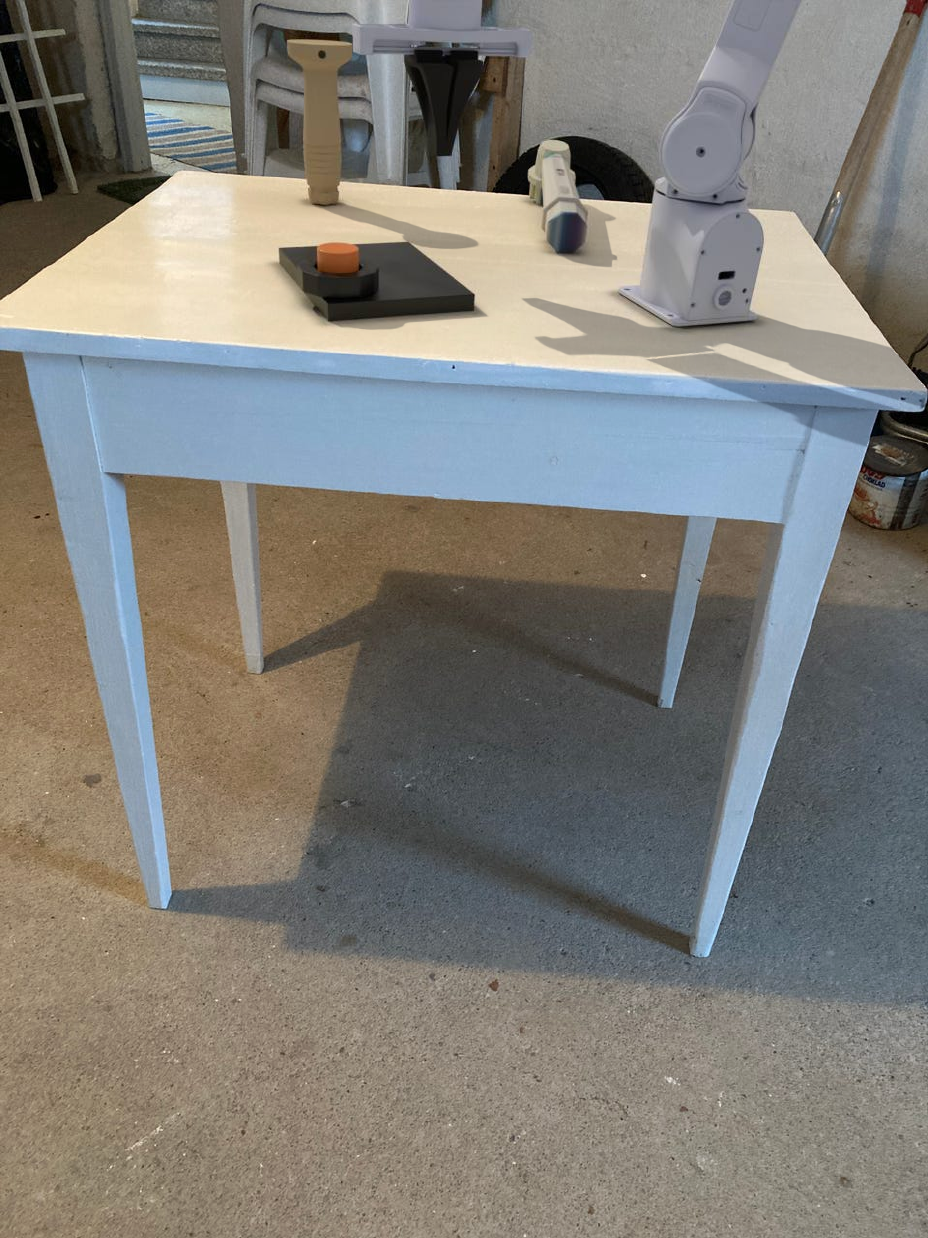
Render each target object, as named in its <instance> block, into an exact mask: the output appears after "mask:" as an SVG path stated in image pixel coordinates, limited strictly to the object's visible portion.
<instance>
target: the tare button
mask: <svg viewBox="0 0 928 1238" xmlns="http://www.w3.org/2000/svg"><path fill="white" fill-rule="evenodd" d="M352 244H353V243H348V242H339V241H336V242H325V243H322V244H318V245H317V246H318V247H317V264H318V270H320V271H323V272H328V273H353V272H356V271H359V248H358V247H357V246H355V245H352Z"/></svg>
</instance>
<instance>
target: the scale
mask: <svg viewBox="0 0 928 1238" xmlns="http://www.w3.org/2000/svg"><path fill="white" fill-rule="evenodd" d="M351 244H352V245H355V246H357V247H358V248H359V271H356V272H353V273H328V272H323V271H320V270H318V264H317V247H318V246H319V245H309V246H308V245H307V246H288V247H287V246H284V247H278V261H279V262H278V263H279V265H280V266H281V267H282V268H283V269H284V271H285V272H286V273H287V274H288V275H289V277H290V278H291V279H292V280H293V282H294V283H295V284H296V285H297V286H298V287H299V289H300V290H301V291H302V292H303V294H304V295H305V296H306V297H307V298H308V299H309V301H310V302H311V304H313V305H314V307H315V309H317V310H318V311H319V313H320V314H321V315H322V316H323V317H324V319H325V320H326V321H327V322H340V321H341V322H343V321H355V320H356V321H357V320H368V319H369V320H371V319H382V318H396V317H410V316H423V315H435V314H437V315H438V314H449V313H465V312H474V311H475V301H476V300H475V299H476V294H475V293H474V292H473V291H471V290H470V289H469V288H468V287H466V286H465V285H464V284H463V283H461V282H460V281H459V280H457V279H456V278H455V277H454V276H453V275H451V274H450V273H448V272H447V271H446V270H445V269H444V268H442V267H441V266H440V265H439V264H437V263H436V262H435V261H433V260H432V259H431V258H430V257H429V256H428V255H426V254H425V253H424V252H422V251H421V250H420V249H418V248H417V247H416V246H415V245H413V244H412V243H411V242H409V241H393V242H391V241H390V242H370V243H351Z"/></svg>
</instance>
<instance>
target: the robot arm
mask: <svg viewBox="0 0 928 1238" xmlns="http://www.w3.org/2000/svg"><path fill="white" fill-rule="evenodd" d="M802 2H803V0H732V1H731V4H730V6H729V9H728V10H727V11H728V12H727V14H726V17H725V19H724V21H723V24H722V26H721V29H720V31H719V34H718V37H717V38H716V42H715V45H714V47H713V49H712V51H711V53H710V55H709V57H708V60H706V63H705V65H704V67H703V69H702V71H701V72H700V75H699V77H698V78H697V79H698V80H697V82H696V84H695V87H694V88H693V89H694V90H693V92H692V94H691V96H690V98H689V100H688V101H687V103H686V105H685V106H684V107H683V108H682V109H681V110H680V111H679V112H678V113H677V114H675V116H673V118H672V119H671V120H670V121H669V122H668V124H667V125H666V126H665V129H664V130H663V133H662V135H661V137H660V138H661V139H660V142H659V146H658V162H659V166H660V170H661V172H662V175H663V176H662V177H659V178H656V180H655V183H654V189H653V193H652V194H653V195H652V200H651V201H652V202H651V208H650V215H649V221H648V227H647V234H646V240H645V246H644V254H643V261H642V265H641V273H640V280H639V284H635V285H621V286H618V289H617V292H618V293H619V295H622V296H623V297H625V298H626V299H629V300H630V301H632V302H633V303H635V304H637V305H638V306H640V307H642V308H643V309H645V310H646V311H648V312H650V313H651V314H653V315H655V317H658V318H659V319H660V320H663V321H664V322H666V323H668V324H669V325H671V326H673V327H690V326H700V325H701V326H702V325H712V324H724V323H735V322H736V323H737V322H748V321H755V320H757V318H758V317H757V316H758V314H757V313H756V312H754V311H753V310H751V305H752V300H753V296H754V291H755V286H756V282H757V277H758V273H759V268H760V263H761V259H762V255H763V250H764V244H765V236H764V235H765V234H764V229H763V226H762V223H761V222H760V220H759V218H757V216H755V215H754V214H753V213H752V212H750V210H749V208H748V206H747V205H748V203H747V195H748V189H749V187H748V185H747V184H745V182H744V180H743V178H742V175H741V173H740V171H741V170H742V166H743V164H744V162H745V161H746V160H747V159H748V157H749V155H750V154H751V152H752V149H753V147H754V144H755V140H756V134H757V125H756V123H757V122H756V121H757V120H756V118H757V110H758V107H759V104H760V101H761V99H762V96H763V95H764V92H765V89H766V87H767V85H768V82H769V79H770V77H771V74H772V71H773V68H774V66H775V63H776V61H777V59H778V57H779V54H780V52H781V51H782V48H783V45H784V43H785V41H786V39H787V36H788V33H789V32H790V29H791V27H792V25H793V23H794V20H795V18H796V16H797V13H798V11H799V8H800V6H801V4H802ZM482 9H483V0H408V21H407V23H352V53H356V54H358V55H360V56H374V55H403V63H404V68H405V70H406V72H407V75H408V77H409V80H410V82H411V84H412V87H413V89H414V92H415V96H416V98H417V101H418V105H419V109H420V111H421V115H422V120H423V125H424V129H425V135H426V141H427V149H428V153H429V154H431V155H433V156H435V157H452V156H453V151H454V146H455V142H456V139H457V134H458V132H459V127H460V124H461V122H462V118H463V116H464V113H465V110H466V107H467V105H468V103H469V101H470V99H471V96H472V94H473V92H474V90H475V89H476V86H477V85H478V83H479V81H480V80H481V78H482V76H483V73H484V66H485V65H484V63H485V62H484V60H481V59H479V56H480V57H516V58H523V59H524V58H527V59H528V58H531V51H532V38H533V30H531V29H527V28H522V27H502V26H501V27H500V26H499V27H498V26H483V25H482ZM427 42H430V43H431V42H432V43H445V44H446V43H447V44H448V43H449V44H462V45H464V46H468V47H456V46H455V47H454V46H453V47H451V46H426V44H427Z"/></svg>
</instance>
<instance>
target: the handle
mask: <svg viewBox="0 0 928 1238" xmlns="http://www.w3.org/2000/svg"><path fill="white" fill-rule="evenodd" d="M286 48H287V55H288V56H289V58H291V59H292V61H294V62H296V63H297V64H299V66H301V68H302V72H303V73H302V74H303V126H302V127H303V128H302V130H303V133H302V142H303V144H302V149H303V162H304V163H303V167H304V174H305V180H306V185H308V186H309V187H308V188H307V193H308V199H309V202H310V203H311V204H314V205H322V206H328V205H335V204H338V202H339V198H340V191H339V188H338V187H339V186H340V185H341V184H340V183H341V176H342V163H343V162H342V161H343V159H342V154H343V153H342V133H341V121H340V104H339V92H338V91H339V88H338V76H339V75H338V74H339V69H340V67H342V66H343V65H344V64H347V63H348V62H349V61H350V60H351V59H352V58H353V42H352V43H351V42H348V41H341V40H339V41H338V40H329V39H327V40H326V39H287V40H286Z"/></svg>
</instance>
